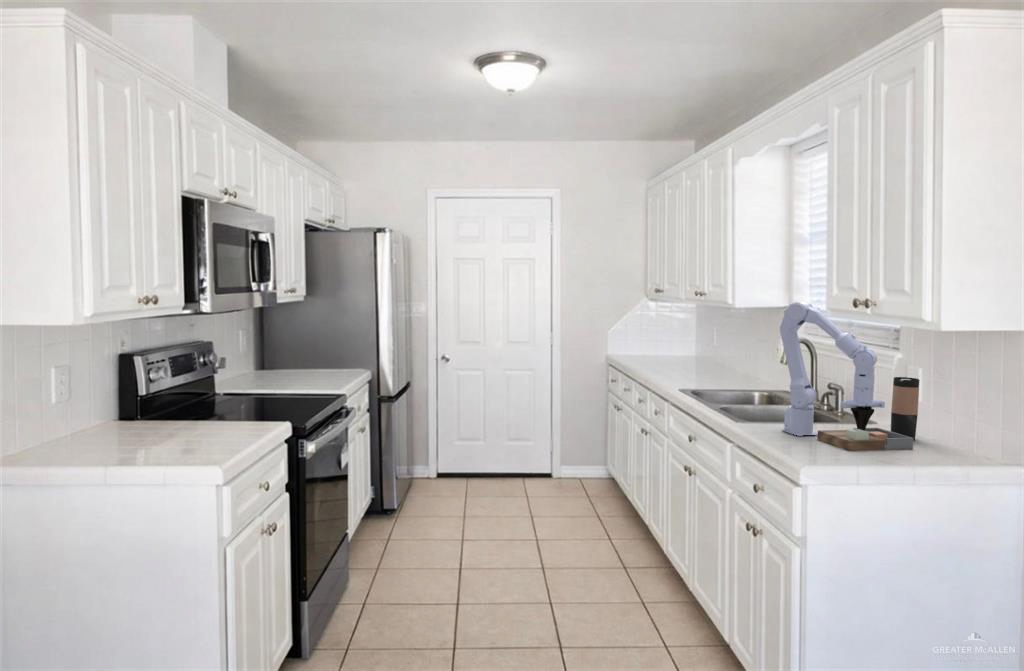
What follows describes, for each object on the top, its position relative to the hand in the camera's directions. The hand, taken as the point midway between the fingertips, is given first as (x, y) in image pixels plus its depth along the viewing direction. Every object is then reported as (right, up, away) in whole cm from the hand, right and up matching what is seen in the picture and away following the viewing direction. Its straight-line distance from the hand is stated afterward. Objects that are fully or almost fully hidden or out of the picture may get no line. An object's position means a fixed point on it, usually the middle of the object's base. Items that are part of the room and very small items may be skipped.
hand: (861, 430), depth 234 cm
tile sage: (-5, -1, -9) cm, 10 cm away
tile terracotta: (+6, -1, +1) cm, 6 cm away
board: (-5, -4, -4) cm, 8 cm away
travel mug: (+17, -4, +7) cm, 19 cm away
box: (+5, -4, -2) cm, 7 cm away
